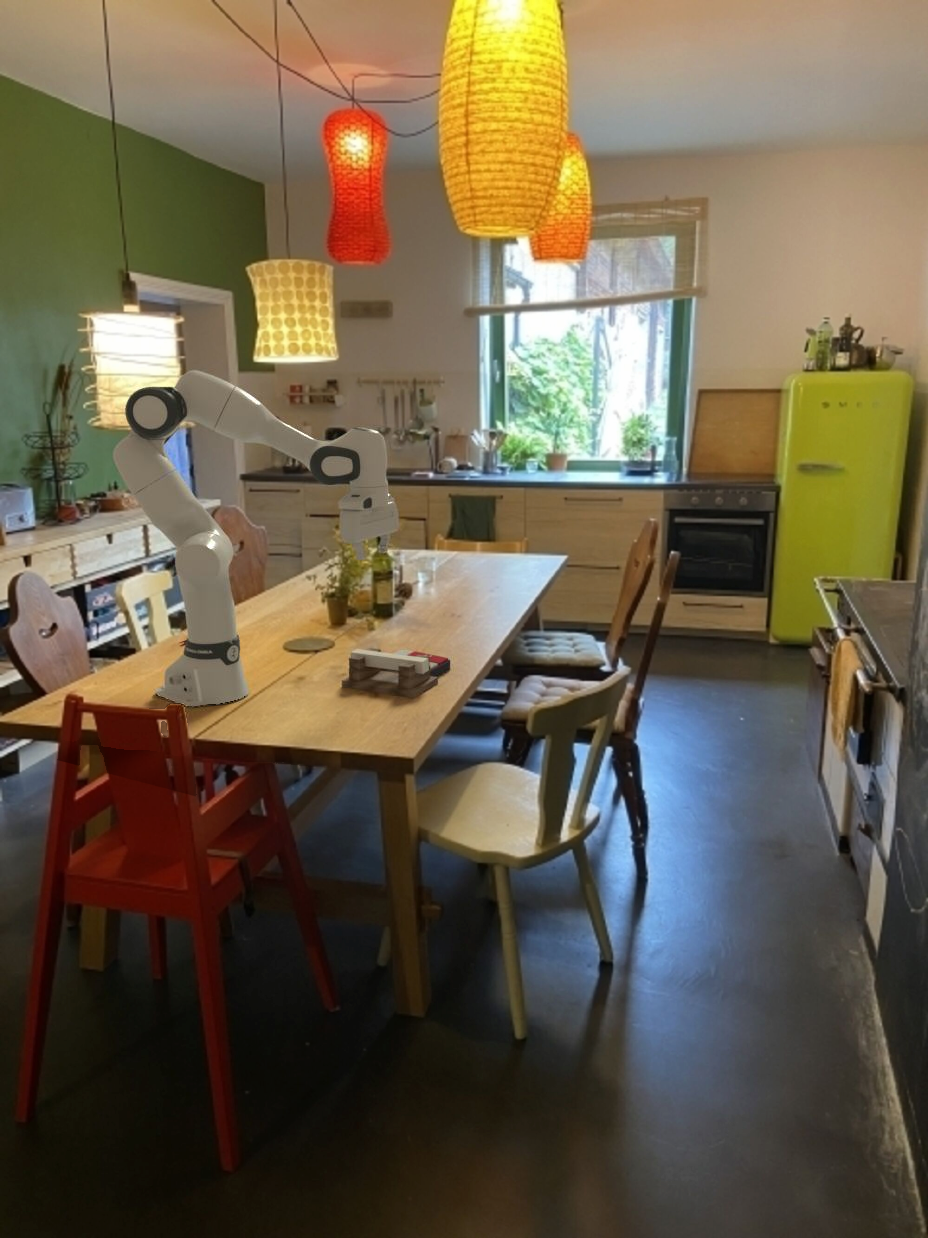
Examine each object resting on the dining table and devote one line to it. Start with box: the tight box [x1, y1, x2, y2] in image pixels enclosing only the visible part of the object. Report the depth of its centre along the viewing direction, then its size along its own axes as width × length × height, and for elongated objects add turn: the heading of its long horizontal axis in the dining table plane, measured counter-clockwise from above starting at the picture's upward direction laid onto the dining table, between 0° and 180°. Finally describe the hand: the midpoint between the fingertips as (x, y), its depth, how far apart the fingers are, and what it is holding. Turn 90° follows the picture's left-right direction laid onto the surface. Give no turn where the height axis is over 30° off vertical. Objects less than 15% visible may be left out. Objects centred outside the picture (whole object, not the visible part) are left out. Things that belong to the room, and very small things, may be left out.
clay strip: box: [350, 648, 429, 674], centre depth 213 cm, size 20×3×3 cm, turn 64°
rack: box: [341, 647, 439, 699], centre depth 214 cm, size 20×12×7 cm, turn 62°
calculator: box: [382, 649, 451, 678], centre depth 224 cm, size 11×4×15 cm
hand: (372, 555), depth 211 cm, fingers open, 8 cm apart
